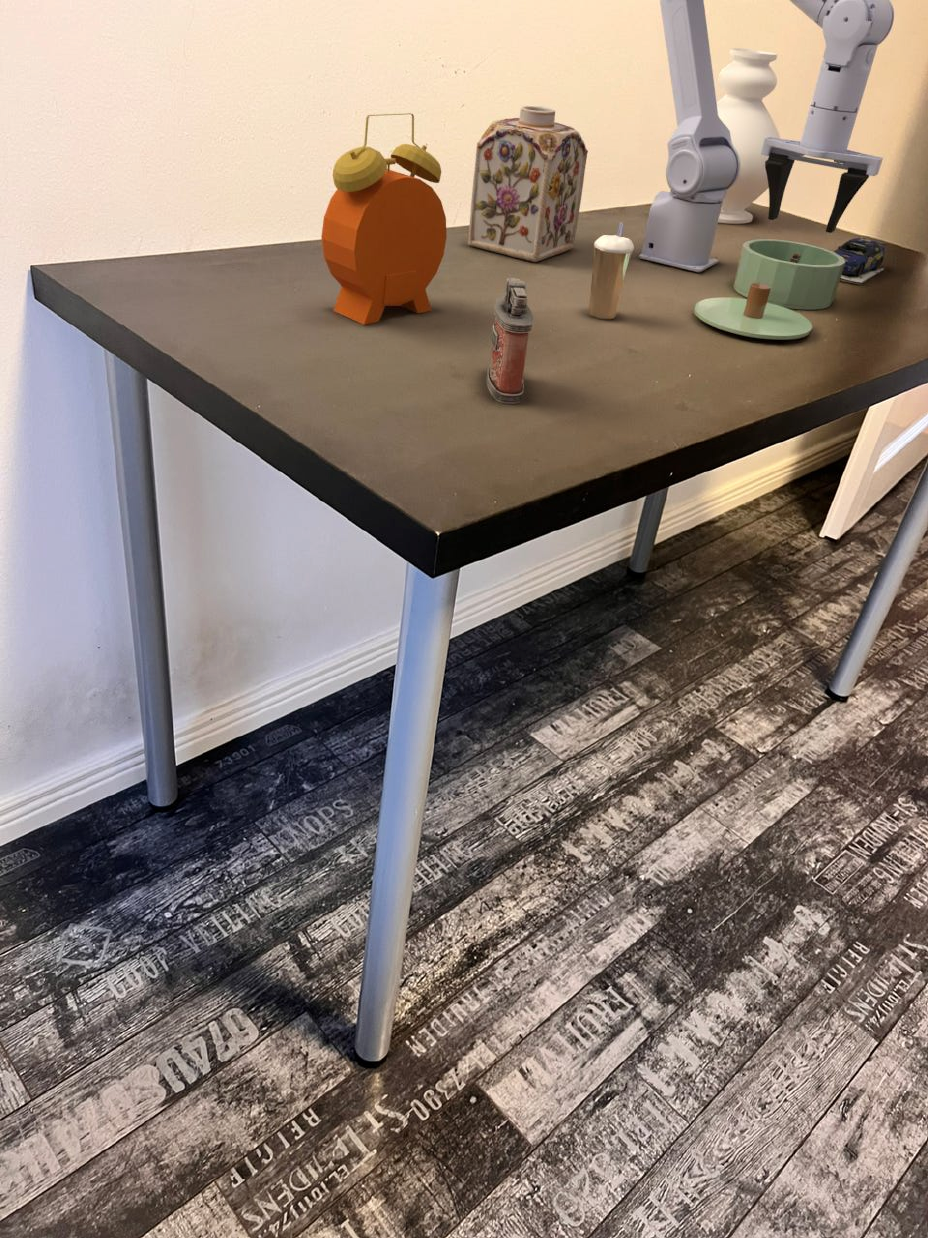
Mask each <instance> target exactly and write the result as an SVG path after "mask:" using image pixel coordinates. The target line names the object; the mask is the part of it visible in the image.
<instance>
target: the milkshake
mask: <svg viewBox="0 0 928 1238" xmlns="http://www.w3.org/2000/svg"><path fill="white" fill-rule="evenodd" d="M624 225H625V222H619V226H618V230H617V234H613V235H610V234H609V235H608V234H603V235H601V236H599V237H598V238H597V239H596V240H595V241H594V243H593V257H592V271H591V280H590V281H591V282H590V291H589V292H590V293H589V300H588V301H589V302H588V314H589V315H590V316H591V317H593V318H595V319H599V320H613V319H615V317H616V316H617V312H618V307H619V304H620V299H621V297H622V292H623V288H624V285H625V280H626V276H627V273H628V270H629V266H630V264H631V260H632V256H633V252H634V249H635V245H634V242H633V241H632V240H631V239H630V238H628V237H625V236H622V234H623V230H624Z"/></svg>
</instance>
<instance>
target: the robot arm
mask: <svg viewBox="0 0 928 1238" xmlns="http://www.w3.org/2000/svg"><path fill="white" fill-rule="evenodd" d="M789 1H790V2H791V3H792V4H793V5H794V6H795V7H797V8H798V9H799V10H800V11H801V12H802V13H803V14H804V15H806V17H808V18H809V19H810V20H811V21H813V22H814V23H815V24H816V25H817V26H819V28H821V29H822V34H823V38H824V41H825V47H824V52H823V55H822V57H823V58H822V61H821V65H820V69H819V72H818V76H817V79H816V83H815V86H814V87H815V88H814V91H813V95H812V98H811V102H810V104H809V105H810V106H809V109H808V113H807V116H806V120H805V124H804V128H803V131H802V134H801V138H800V140H798V141H797V140H793V139H792V140H790V139H783V138H780V139H778V138H772V137H768V138H765V139H764V143H763V147H762V151H761V155H766V156H769V158H768V160H766V161H765V169H766V174H767V179H768V186H769V188H768V196H769V197H768V203H769V204H768V216H767V220H769V221H775V220H777V219H778V217H779V215H780V211H781V208H782V202H783V198H784V194H785V190H786V186H787V184H788V182H789V181H788V180H789V177H790V175H791V171H792V169H793V166H794V163H795V161H797V162H802V163H807V164H813V165H817V166H818V165H819V166H824V167H828V168H835V169H840V170H844V172H843V173H841V175H840V179H839V183H838V188H837V192H836V196H835V201H834V204H833V208H832V210H831V212H830V215H829V219H828V222H827V224H826V229H825V232H826V233H829V234H832V233H833V232H835V231H836V228H837V226H838V224H839V221H840V220H841V218H842V215H843V214H844V212H845V210H847V208H848V206H849V205H850V203H851V201H852V200H853V199H854V197H855V196H856V194H858V192H859V190H860V189H862V187H863V186H864V184H865V183H866V182H867V180H868V179H869V178H870V176H871V177H875V176H877V175H879V173H880V170H881V165H882V163H883V161H884V157H882V156H876V155H872V154H867V153H863V152H860V151H859V152H858V151H854V150H851V149H848V148H849V143H850V140H851V137H852V134H853V130H854V127H855V124H856V121H857V117H858V114H859V110H860V107H861V104H862V100H863V97H864V93H865V90H866V87H867V84H868V80H869V76H870V73H871V69H872V66H873V63H874V60H875V56H876V53H877V50H878V46H879V45H880V44H882V43H883V41H885V40H886V38H887V37H888V36H889V34H890V33H891V31H892V29H893V26H894V22H895V21H894V20H895V10H894V6H893V3H892V1H891V0H789ZM659 5H660V12H661V19H662V26H663V32H664V33H663V34H664V39H665V47H666V54H667V55H666V56H667V61H668V68H669V69H668V70H669V75H670V83H671V89H672V97H673V98H672V99H673V103H674V104H673V105H674V112H675V119H676V125H677V126H676V129H675V130H674V131H673V134H671V137H670V138H669V139H668V141H667V152H668V157H667V163H666V168H665V180H666V183H667V186H668V188H669V190H670V191H665V190H661V191H659V192H658V193H656V195H655V197H654V198H653V200H652V203H651V205H650V208H649V213H648V215H647V216H648V217H647V223H646V227H645V234H644V238H643V243H642V247H641V252H640V254H639V255H638V258H639V259H641V260H646V261H649V262H654V263H658V264H663V265H666V266H670V267H675V268H679V269H683V270H687V271H691V272H694V273H695V272H696V273H701V272H703V271H705V270H707V269H708V268H710V267H712V266H714V265H716V264H718V263H719V259H718V258H713V257H711V254H712V249H713V245H714V242H715V237H716V231H717V228H718V224H719V222H718V220H719V215H720V211H721V207H722V202H723V199H724V198H725V194H726V190H728V189H729V188H730V187H732V186H733V184H734V183H735V182H736V180H737V178H738V176H739V172H740V158H739V155H738V153H737V151H736V150H735V148H734V146H733V144H732V141H731V136H730V131H729V129H728V128H727V127H726V125H725V124H724V123H723V122H722V120H721V119H720V118H719V116H718V110H717V102H718V101H717V95H716V94H717V93H716V88H715V81H714V80H715V78H714V71H713V65H712V55H711V48H710V40H709V33H708V26H707V17H706V10H705V9H706V8H705V3H704V0H659ZM824 159H825V160H824ZM828 160H831V161H828Z"/></svg>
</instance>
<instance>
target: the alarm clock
mask: <svg viewBox="0 0 928 1238" xmlns="http://www.w3.org/2000/svg"><path fill="white" fill-rule="evenodd" d="M400 115H401V116H402V115H411V142H412V144H409V143H401V144H399V145H398V146H396V147H395V148H394V150H393V151H392V152H391V154H390V157H388V158H387V157H386V158H385V157H384V155H382V153H381V152H380V151H378V150H377V149H375V148H373V147H371V146H367V144H368V131H369V119H370V117H376V116H377V117H379V116H400ZM427 148H428V147H427V146H426V145H425V144H423V145H422V146H421V147H420V146H419V145H418V144H417V143H415V115H414V114H413V113H411V112H410V113H409V112H408V113H385V114H384V113H383V114H368V115H367V116H366V120H365V130H364V144H363V146H358V147H355V148H352V149H349V150H347V151H346V152H345V153H343V154H342V155H340V156H339V157H338V159H337V160H336V162H335V164H334V166H333V169H332V180H333V184H334V186H335V188H336V190H335V192H334V193H333V195H332V196H331V198H330V200H329V202H328V204H327V207H326V211H325V212H324V215H323V220H322V221H323V222H322V228H321V229H322V230H321V236H320V237H321V247H322V254H323V259H324V261H325V263H326V266H327V267H328V270H329V273H330V274H331V276H332V277H333V278H334V279H335V280H336V281H337V283H338V284H339V285H340V286H341V287H340V290H339V293H338V296H337V299H336V302H335V305H334V307H333V312H334V313H338V314H339V315H341V316H344V317H346V318H347V319H350V320H352V321H355V322H356V323H359V324H361V325H364V326H365V325H370V324H375V323H379V321H380V319H381V317H382V314H383V312H384V310H385V308H386V306H387V307H388V306H392V307H393V306H394V307H397V306H399V307H402V308H404V309H406V310H409V311H411V312H414V313H417V314H421V313H425V312H431V311H432V308H431V304H430V301H429V296H428V293H427V288H428V286H429V285H430V284H431V282H432V281H433V279H434V278H435V277H436V275H437V273H438V270H439V268H440V266H441V263H442V260H443V258H444V253H445V248H446V244H447V235H448V234H447V216H446V214H445V210H444V206H443V202H442V200H441V198H440V196H439V195H438V194H437V193H436V191H435V189H434V188H433V187H432V186H431V185H429V184H428V183H426V182H425V181H427V182H430V183H433V184H439V183H440V181H441V176H442V168H441V164H440V163H439V161H438V160H437V159H436V158H435V157H434V156H433V154H431V153H429V152H428V151H427ZM396 164H397V165H398V166H400V167H401V168H402V169H404V170H406V171H407V172H409V173H410V174H409V175H408V174H406V173H402V172H398V171H396V170H393V169H391V168H390V167H391V166H392V165H396ZM422 179H423V180H425V181H423V180H422Z"/></svg>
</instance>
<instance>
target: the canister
mask: <svg viewBox="0 0 928 1238" xmlns="http://www.w3.org/2000/svg"><path fill="white" fill-rule="evenodd" d="M794 253H800V254H801V258H800V261H799V262H798V263H792V262H790V259H791V258H792V256H793V255H794ZM844 265H845V260H844V258H843V257H841V256H840V255H838V254H836V253H835V252H834V251H832V250H830V249H826V248H823V247H821V246H816V245H812V244H808V243H805V242H804V243H803V242H797V241H793V240H785V239H774V238H770V239H769V238H757V239H750V240H749V239H748V240H747V241H745V242H744V243H743V244H742V247H741V251H740V255H739V260H738V264H737V267H736V272H735V276H734V281H733V289H734V291H735V292H737V293H738V294H739V295H741V296H743V297H745V298H747V297H748V293H749V289H750V286H751V284H752V283H762V284H766V285H769V286H770V287H771V290H770V293H769V297H768V301H767V303H770V304H774V305H778V306H781V307H784V308H787V309H790V310H800V311H801V310H804V311H813V310H814V311H815V310H823V309H826V308H829V307H831V306H832V304H833V301H835V297H836V294H837V290H838V288H839V284H840V282H841V281H840V278H841V275H842V272H843V268H844Z"/></svg>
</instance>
